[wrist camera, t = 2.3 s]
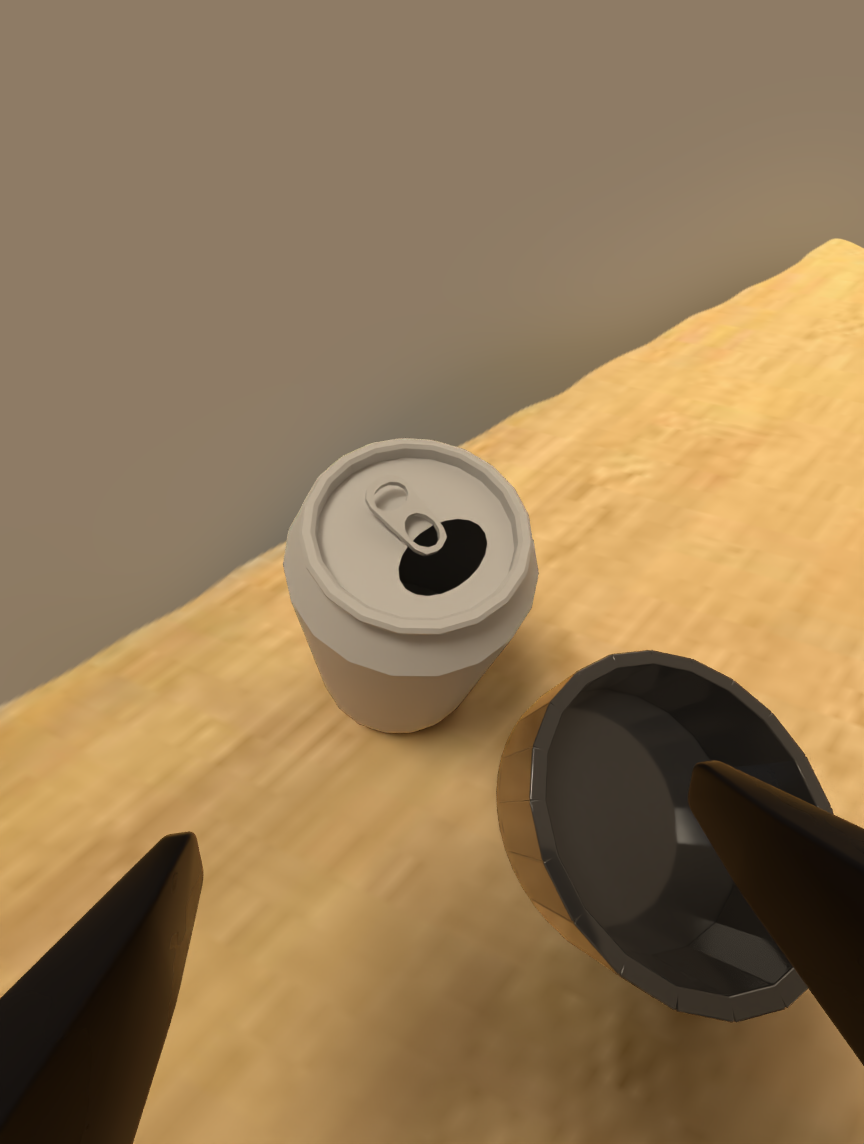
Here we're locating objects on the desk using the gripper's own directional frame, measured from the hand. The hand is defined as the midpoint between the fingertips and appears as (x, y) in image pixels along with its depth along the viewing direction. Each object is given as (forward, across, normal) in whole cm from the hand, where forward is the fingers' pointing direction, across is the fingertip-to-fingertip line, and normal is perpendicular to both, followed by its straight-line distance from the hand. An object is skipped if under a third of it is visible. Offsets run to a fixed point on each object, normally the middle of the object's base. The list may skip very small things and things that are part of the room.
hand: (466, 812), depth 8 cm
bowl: (+8, -9, +10) cm, 16 cm away
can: (+14, 0, +4) cm, 15 cm away
